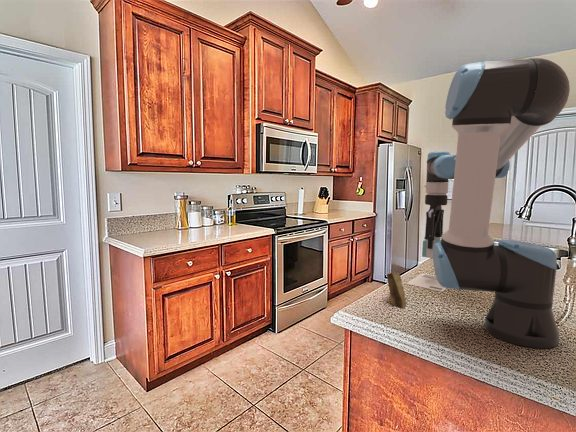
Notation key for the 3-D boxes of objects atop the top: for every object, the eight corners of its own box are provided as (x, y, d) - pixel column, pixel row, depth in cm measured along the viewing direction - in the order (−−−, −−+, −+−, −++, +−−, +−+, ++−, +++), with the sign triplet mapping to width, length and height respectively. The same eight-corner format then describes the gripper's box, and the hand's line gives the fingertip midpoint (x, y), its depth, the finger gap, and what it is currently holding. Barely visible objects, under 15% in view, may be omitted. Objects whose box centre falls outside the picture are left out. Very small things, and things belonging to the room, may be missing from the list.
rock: (389, 285, 112) (373, 287, 105) (405, 269, 108) (389, 270, 101) (410, 312, 105) (394, 316, 99) (429, 295, 101) (413, 298, 95)
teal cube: (438, 259, 118) (439, 243, 118) (422, 256, 122) (422, 240, 121) (443, 256, 123) (444, 240, 122) (427, 253, 127) (427, 238, 126)
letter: (443, 291, 112) (443, 291, 112) (405, 283, 121) (405, 283, 121) (456, 279, 126) (456, 279, 126) (421, 273, 134) (422, 273, 134)
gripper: (433, 193, 129) (430, 249, 132) (417, 194, 115) (413, 258, 118) (454, 193, 124) (450, 252, 127) (439, 195, 110) (435, 262, 113)
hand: (432, 255), depth 122 cm, fingers closed on teal cube, 6 cm apart
